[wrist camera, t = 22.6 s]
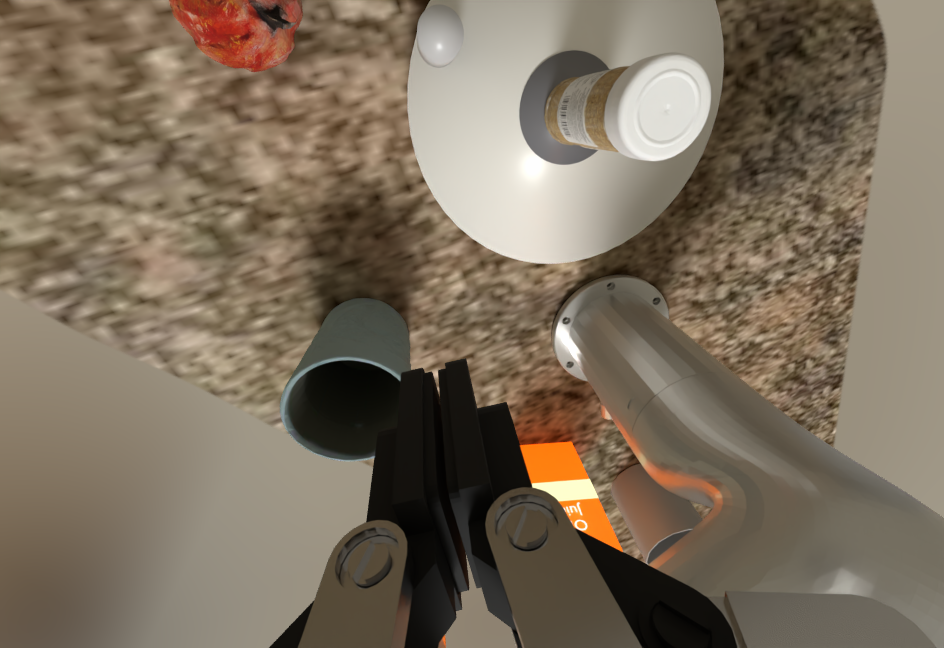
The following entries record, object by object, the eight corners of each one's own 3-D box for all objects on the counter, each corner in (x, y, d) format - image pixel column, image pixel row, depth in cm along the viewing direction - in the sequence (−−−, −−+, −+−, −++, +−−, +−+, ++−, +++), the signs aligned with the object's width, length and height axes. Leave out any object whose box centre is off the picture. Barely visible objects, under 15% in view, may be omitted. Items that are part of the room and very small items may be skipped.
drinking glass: (394, 277, 39) (384, 337, 29) (431, 361, 44) (435, 439, 33) (295, 312, 40) (250, 384, 29) (343, 391, 44) (319, 478, 34)
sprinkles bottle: (591, 148, 32) (693, 169, 20) (536, 139, 31) (607, 155, 20) (609, 81, 30) (732, 60, 18) (549, 70, 30) (638, 41, 18)
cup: (633, 456, 54) (675, 522, 45) (681, 469, 56) (730, 535, 48) (599, 499, 57) (633, 570, 48) (646, 510, 60) (686, 580, 51)
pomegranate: (217, 57, 32) (296, 120, 29) (106, -19, 25) (196, 55, 22) (264, -34, 31) (352, 23, 28) (161, -141, 24) (264, -78, 21)
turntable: (754, 20, 33) (840, -4, 26) (602, 285, 42) (637, 317, 35) (479, -167, 26) (500, -262, 20) (370, 195, 35) (359, 213, 29)
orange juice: (564, 485, 55) (634, 660, 37) (499, 490, 54) (539, 673, 36) (572, 440, 52) (652, 611, 34) (502, 445, 51) (548, 623, 33)
